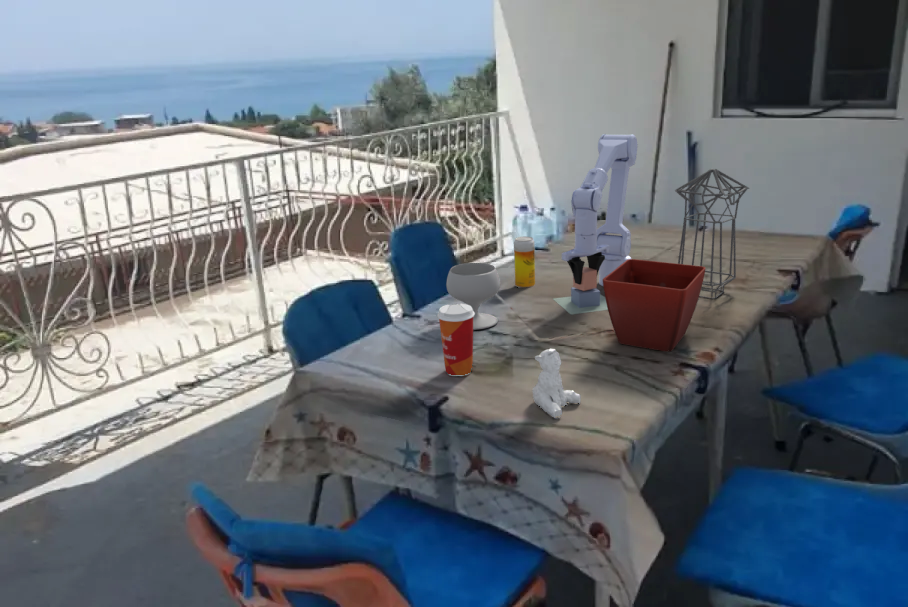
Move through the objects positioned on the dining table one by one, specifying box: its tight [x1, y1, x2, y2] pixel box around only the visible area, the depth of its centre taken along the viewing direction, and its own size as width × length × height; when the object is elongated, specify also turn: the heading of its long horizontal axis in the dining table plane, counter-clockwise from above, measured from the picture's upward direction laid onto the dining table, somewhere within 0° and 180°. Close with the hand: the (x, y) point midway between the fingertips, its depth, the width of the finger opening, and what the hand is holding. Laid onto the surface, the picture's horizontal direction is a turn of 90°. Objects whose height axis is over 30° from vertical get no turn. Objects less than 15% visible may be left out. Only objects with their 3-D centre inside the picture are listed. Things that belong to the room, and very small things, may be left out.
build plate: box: [552, 293, 608, 315], centre depth 196 cm, size 14×14×1 cm
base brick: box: [570, 286, 601, 308], centre depth 196 cm, size 6×6×4 cm
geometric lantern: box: [674, 168, 750, 300], centre depth 196 cm, size 16×16×35 cm
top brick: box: [572, 266, 598, 291], centre depth 194 cm, size 4×4×5 cm
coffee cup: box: [436, 303, 475, 375], centre depth 157 cm, size 8×8×15 cm
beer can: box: [513, 236, 536, 289], centre depth 213 cm, size 6×6×15 cm
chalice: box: [445, 262, 501, 331], centre depth 186 cm, size 14×14×15 cm
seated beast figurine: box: [531, 348, 582, 419], centre depth 140 cm, size 10×9×12 cm
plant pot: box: [602, 258, 707, 352], centre depth 169 cm, size 19×19×17 cm
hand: (585, 281), depth 194 cm, fingers closed on top brick, 4 cm apart
